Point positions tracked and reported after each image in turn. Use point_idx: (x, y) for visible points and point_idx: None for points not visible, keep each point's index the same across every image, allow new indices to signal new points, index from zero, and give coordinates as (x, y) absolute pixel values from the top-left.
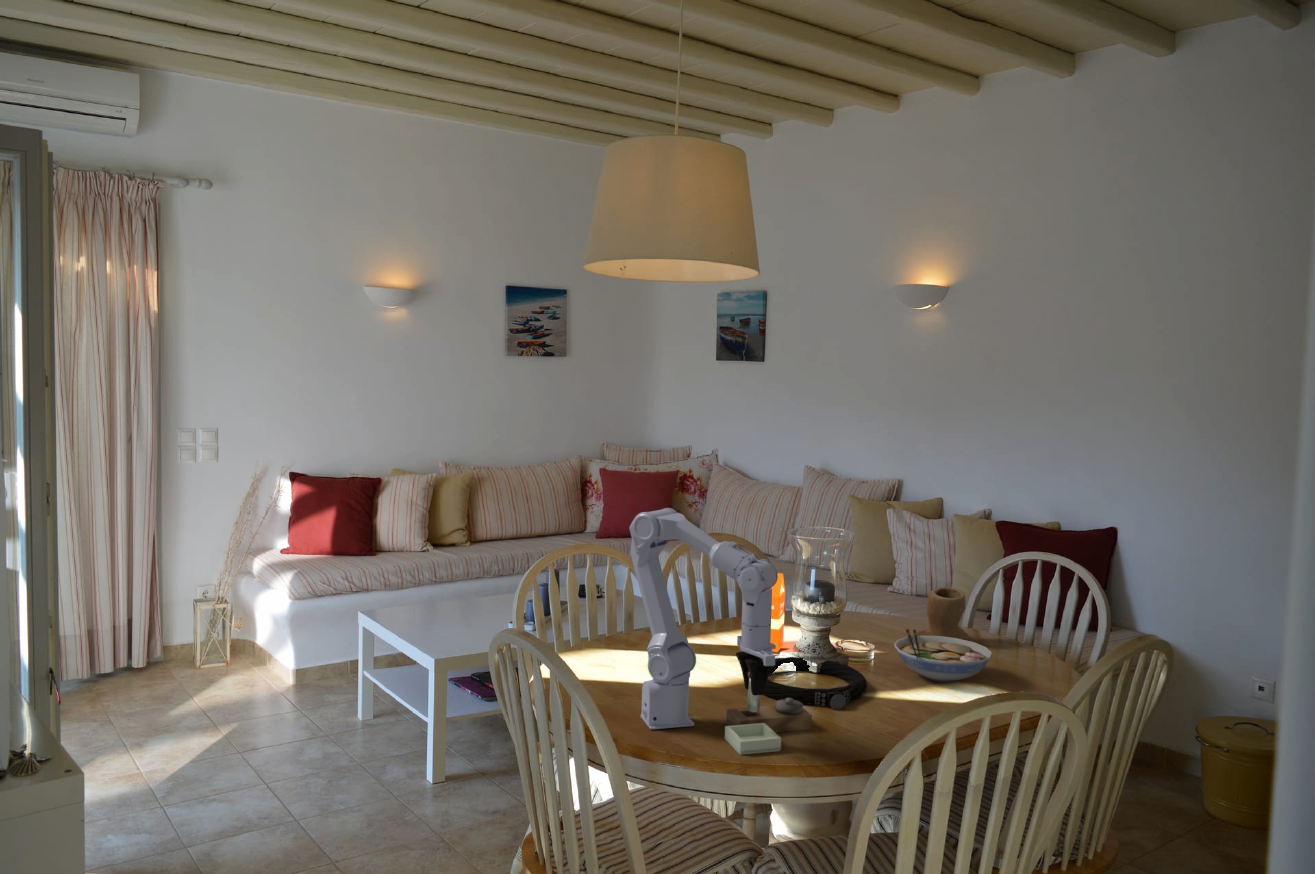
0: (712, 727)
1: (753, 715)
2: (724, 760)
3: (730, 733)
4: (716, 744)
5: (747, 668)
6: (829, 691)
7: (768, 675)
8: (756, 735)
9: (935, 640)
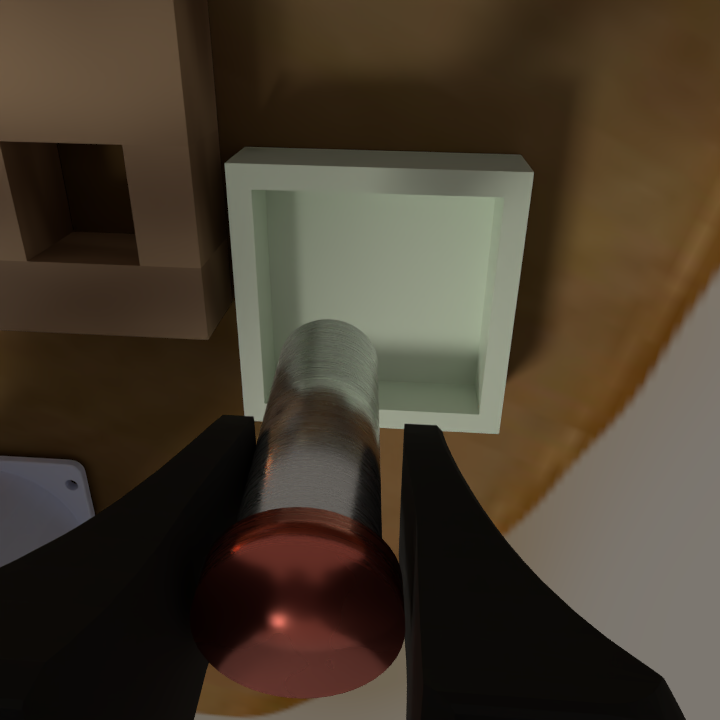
0: (95, 382)
1: (23, 149)
2: (529, 482)
3: None
4: None
5: (189, 684)
6: None
7: (526, 566)
8: (288, 223)
9: None
